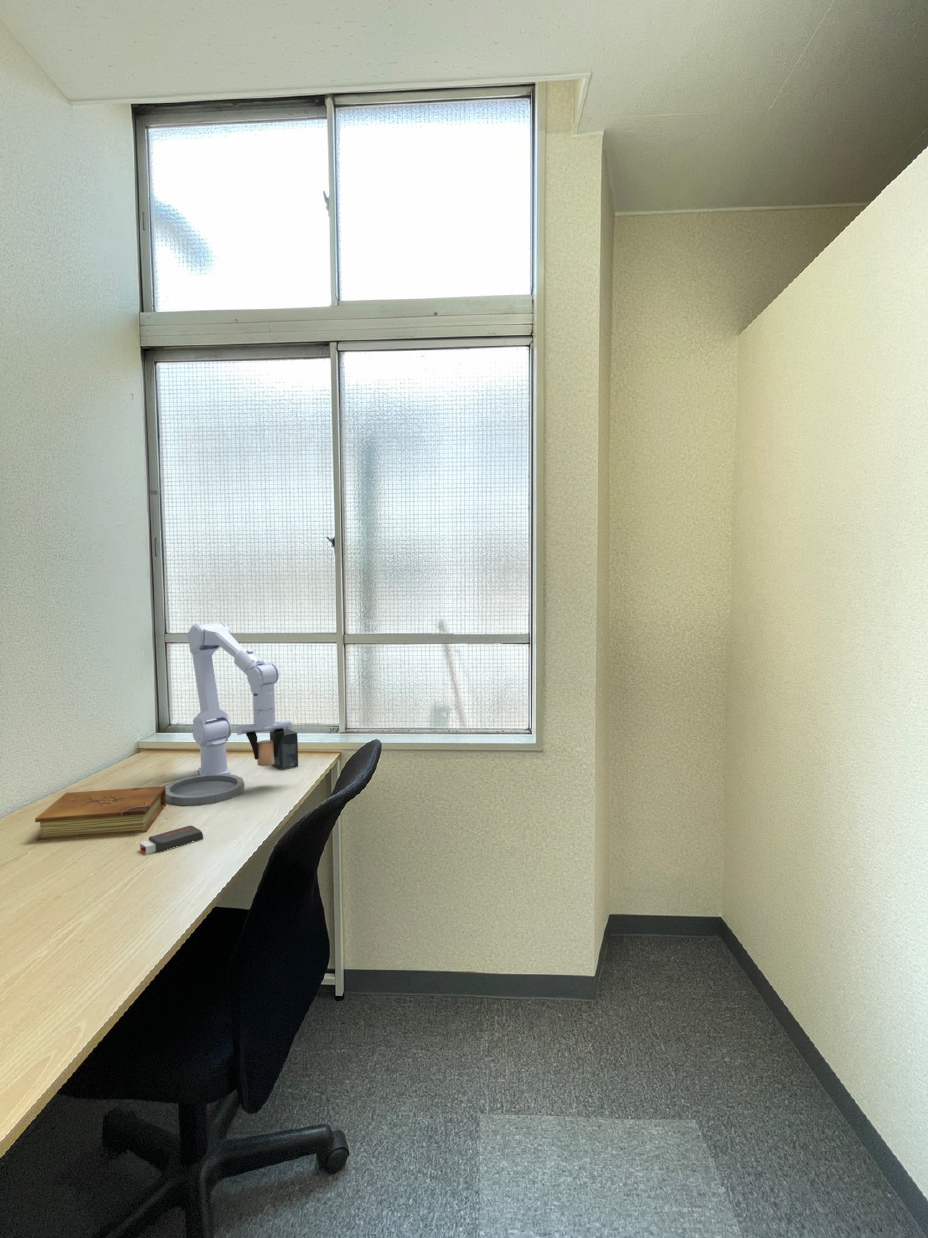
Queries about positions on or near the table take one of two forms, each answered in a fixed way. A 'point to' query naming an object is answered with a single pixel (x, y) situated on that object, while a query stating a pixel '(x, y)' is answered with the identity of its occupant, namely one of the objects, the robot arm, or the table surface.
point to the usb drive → (171, 839)
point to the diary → (102, 813)
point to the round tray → (204, 789)
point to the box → (287, 750)
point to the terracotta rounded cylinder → (265, 753)
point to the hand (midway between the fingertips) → (265, 757)
